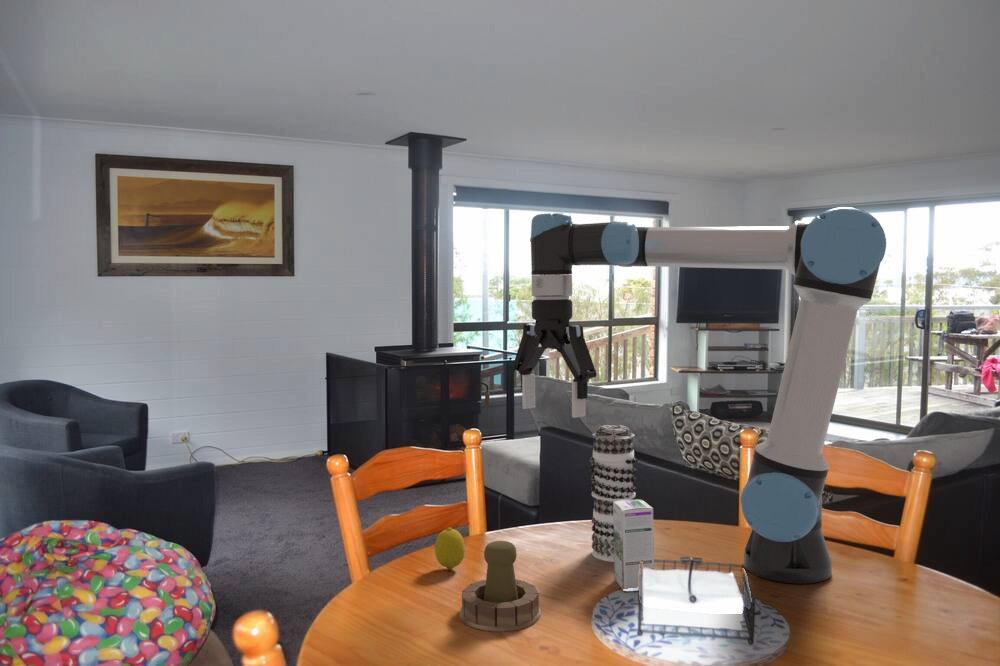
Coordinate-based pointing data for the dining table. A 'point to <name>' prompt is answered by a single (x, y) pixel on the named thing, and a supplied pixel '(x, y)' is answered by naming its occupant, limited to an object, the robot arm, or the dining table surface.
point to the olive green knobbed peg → (500, 572)
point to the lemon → (449, 548)
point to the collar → (500, 608)
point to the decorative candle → (610, 483)
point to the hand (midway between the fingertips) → (553, 412)
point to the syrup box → (632, 540)
